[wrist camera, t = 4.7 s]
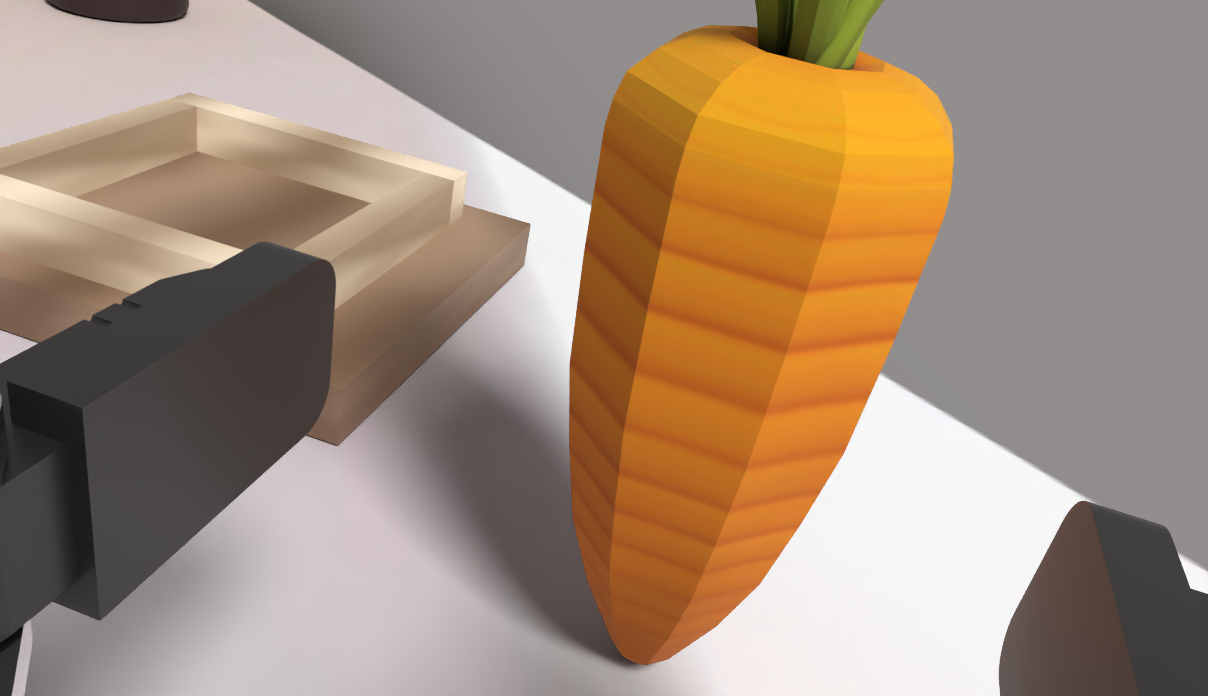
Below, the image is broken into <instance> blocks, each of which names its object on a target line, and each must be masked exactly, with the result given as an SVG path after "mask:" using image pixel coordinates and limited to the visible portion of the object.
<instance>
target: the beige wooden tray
mask: <svg viewBox="0 0 1208 696" xmlns="http://www.w3.org/2000/svg"><path fill="white" fill-rule="evenodd" d="M466 179H467V172H465V171H461V170H458V169H454V168H451V167H447V166H444V165H440V164H437V163H433V162H430V161H426V160H423V159H419V158H416V157H412V156H409V155H405V154H402V153H398V152H395V151H391V150H388V149H384V148H381V147H377V146H374V145H370V144H367V143H363V142H360V141H356V140H353V139H349V138H346V137H342V136H339V135H335V134H332V133H328V132H325V131H321V130H318V129H314V128H311V127H307V126H304V125H300V124H297V123H293V122H290V121H287V120H283V119H280V118H276V117H273V116H269V115H266V114H262V113H259V112H255V111H252V110H248V109H245V108H241V107H238V106H234V105H231V104H227V103H224V102H220V101H217V100H213V99H210V98H206V97H203V96H199V95H196V94H192V93H188V94H184V95H181V96H177V97H174V98H170V99H167V100H164V101H160V102H157V103H153V104H150V105H146V106H143V107H140V108H136V109H133V110H129V111H126V112H123V113H119V114H116V115H112V116H109V117H105V118H102V119H99V120H95V121H92V122H88V123H85V124H81V125H78V126H75V127H71V128H68V129H64V130H61V131H57V132H54V133H51V134H47V135H44V136H40V137H37V138H34V139H30V140H27V141H23V142H20V143H16V144H13V145H10V146H6V147H3V148H0V329H2V330H5V331H7V332H10V333H13V334H16V335H19V336H22V337H25V338H28V339H31V340H34V341H36V342H39V343H40V342H42V341H44V340H46V339H48V338H50V337H52V336H54V335H56V334H57V333H59V332H61V331H63V330H65V329H67V328H69V327H71V326H73V325H74V324H76V323H78V322H80V321H82V320H84V319H85V320H88V321H90V320H91V318H92V315H93V314H95V313H97V312H99V311H101V310H103V309H105V308H107V307H109V306H110V305H112V304H114V303H117V304H120V305H121V303H122V301H123V299H124V298H126V297H127V296H129V295H131V294H133V293H135V292H137V291H139V290H141V289H143V288H145V287H146V286H148V285H150V284H152V283H154V282H156V281H158V280H160V279H164V278H168V277H172V276H176V275H181V274H185V273H189V272H193V271H197V270H202V269H206V268H209V269H211V268H212V267H214V266H216V265H218V264H220V263H221V262H223V261H225V260H227V259H229V258H231V257H232V256H234V255H236V254H238V253H240V252H241V251H243V250H245V249H247V248H249V247H251V246H252V245H254V244H256V243H259V242H262V241H267V242H271V243H274V244H277V245H281V246H284V247H287V248H290V249H293V250H296V251H300V252H303V253H306V254H309V255H312V256H315V257H319V258H322V259H325V260H327V261H329V262H330V263H331V264H332V266H333V268H334V271H335V276H336V295H335V311H334V328H333V344H332V360H331V376H330V386H329V391H328V395H327V399H326V402H325V405H324V407H323V410H322V412H321V414H320V416H319V418H318V420H317V421H316V423H315V424H314V426H313V427H312V429H311V430H310V431H309V432H308V433H307V434H306V435H309V436H312V437H315V438H317V439H320V440H323V441H326V442H329V443H332V444H335V445H339V444H340V443H341V442H342V441H343V440H344V439H345V438H346V437H347V436H348V435H349V434H350V433H351V432H352V431H353V430H354V429H355V428H356V427H357V426H358V425H360V424H361V423H362V422H363V421H364V420H365V419H366V418H367V417H368V416H369V415H370V414H371V413H372V412H373V411H374V410H375V409H376V408H377V407H378V406H379V405H380V404H381V403H382V402H383V401H384V400H385V399H386V398H387V397H388V396H389V395H391V394H392V393H393V392H394V391H395V390H396V389H397V388H398V387H399V386H400V385H401V384H402V383H403V382H404V381H405V380H406V379H407V378H408V377H409V376H410V375H411V374H412V373H413V372H414V371H415V370H416V369H417V368H418V367H419V366H420V365H421V364H423V363H424V362H425V361H426V360H427V359H428V358H429V357H430V356H431V355H432V354H433V353H434V352H435V351H436V350H437V349H438V348H439V347H440V346H441V345H442V344H443V343H444V342H445V341H446V340H447V339H448V338H449V337H450V336H451V335H452V334H453V333H455V332H456V331H457V330H458V329H459V328H460V327H461V326H462V325H463V324H464V323H465V322H466V321H467V320H468V319H469V318H470V317H471V316H472V315H473V314H474V313H475V312H476V311H477V310H478V309H479V308H480V307H481V306H482V305H483V304H484V303H485V302H487V301H488V300H489V299H490V298H491V297H492V296H493V295H494V294H495V293H496V292H497V291H498V290H499V289H500V288H501V287H502V286H503V285H504V284H505V283H506V282H507V281H508V280H509V279H510V278H511V277H512V276H513V275H514V274H515V273H516V272H518V271H519V270H520V269H521V268H522V267H523V266H524V262H525V255H526V249H527V243H528V237H529V231H530V224H529V223H526V222H522V221H519V220H516V219H512V218H509V217H505V216H502V215H498V214H495V213H492V212H488V211H485V210H481V209H478V208H474V207H471V206H468V205H464V204H463V203H464V195H465V187H466Z"/></svg>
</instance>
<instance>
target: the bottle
mask: <svg viewBox="0 0 1208 696" xmlns="http://www.w3.org/2000/svg"><path fill="white" fill-rule="evenodd" d="M48 1H49V2H51V3H52V4H53V5H55V6H57V7H58V8H60V9H63V10H66V11H69V12H72V13H75V14H80V15H84V16H89V17H93V18H100V19H107V20H114V21H128V22H159V21H168V20H173V19H176V18H179V17H181V16H183V15H184V14H185V13H186V11H187V10H188V6H189V0H48Z"/></svg>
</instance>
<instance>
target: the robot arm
mask: <svg viewBox="0 0 1208 696" xmlns="http://www.w3.org/2000/svg"><path fill="white" fill-rule="evenodd" d="M335 295H336V276H335V271H334V268H333V266H332V264H331V263H330V262H329V261H327V260H325V259H322V258H319V257H315V256H312V255H309V254H306V253H303V252H300V251H296V250H293V249H290V248H287V247H284V246H281V245H277V244H274V243H271V242H267V241H262V242H259V243H256V244H254V245H252V246H251V247H249V248H247V249H245V250H243V251H241V252H240V253H238V254H236V255H234V256H232V257H231V258H229V259H227V260H225V261H223V262H221V263H220V264H218V265H216V266H214V267H212V268H211V269H209V268H206V269H202V270H197V271H193V272H189V273H185V274H181V275H176V276H172V277H168V278H164V279H160V280H158V281H156V282H154V283H152V284H150V285H148V286H146V287H145V288H143V289H141V290H139V291H137V292H135V293H133V294H131V295H129V296H127V297H126V298H124V299H123V301H122V303H121V305H120V304H117V303H114V304H112V305H110V306H109V307H107V308H105V309H103V310H101V311H99V312H97V313H95V314H93V315H92V318H91V320H90V321H88V320H85V319H84V320H82V321H80V322H78V323H76V324H74V325H73V326H71V327H69V328H67V329H65V330H63V331H61V332H59V333H57V334H56V335H54V336H52V337H50V338H48V339H46V340H44V341H42V342H40V343H38V344H37V345H35V346H33V347H31V348H29V349H27V350H25V351H23V352H21V353H20V354H18V355H16V356H14V357H12V358H10V359H8V360H6V361H4V362H2V363H1V364H0V696H24V695H25V689H26V682H27V676H28V670H29V663H30V657H31V651H32V643H33V634H32V626H31V618H32V617H34V616H35V615H36V614H37V613H39V612H40V611H41V610H42V609H43V608H45V607H46V606H47V605H48V604H49V603H51V602H55V603H57V604H60V605H62V606H65V607H67V608H70V609H72V610H75V611H77V612H80V613H82V614H84V615H87V616H89V617H92V618H94V619H97V620H99V621H100V620H101V619H103V618H104V617H105V616H106V615H107V614H108V613H109V612H110V611H111V610H113V609H114V608H115V607H116V606H117V605H118V604H119V603H120V602H121V601H123V600H124V599H125V598H126V597H127V596H128V595H129V594H130V593H131V592H133V591H134V590H135V589H136V588H137V587H138V586H139V585H140V584H141V583H143V582H144V581H145V580H146V579H147V578H148V577H149V576H150V575H151V574H152V573H154V572H155V571H156V570H157V569H158V568H159V567H160V566H161V565H162V564H164V563H165V562H166V561H167V560H168V559H169V558H170V557H171V556H172V555H174V554H175V553H176V552H177V551H178V550H179V549H180V548H181V547H182V546H184V545H185V544H186V543H187V542H188V541H189V540H190V539H191V538H192V537H193V536H195V535H196V534H197V533H198V532H199V531H200V530H201V529H202V528H203V527H205V526H206V525H207V524H208V523H209V522H210V521H211V520H212V519H213V518H215V517H216V516H217V515H218V514H219V513H220V512H221V511H222V510H223V509H225V508H226V507H227V506H228V505H229V504H230V503H231V502H232V501H233V500H235V499H236V498H237V497H238V496H239V495H240V494H241V493H242V492H243V491H244V490H246V489H247V488H248V487H249V486H250V485H251V484H252V483H253V482H254V481H256V480H257V479H258V478H259V477H260V476H261V475H262V474H263V473H264V472H266V471H267V470H268V469H269V468H270V467H271V466H272V465H273V464H274V463H276V462H277V461H278V460H279V459H280V458H281V457H282V456H283V455H284V454H286V453H287V452H288V451H289V450H290V449H291V448H292V447H293V446H294V445H295V444H297V443H298V442H299V441H300V440H301V439H302V438H303V437H304V436H305V435H306V434H307V433H308V432H309V431H310V430H311V429H312V427H313V426H314V424H315V423H316V421H317V420H318V418H319V416H320V414H321V412H322V410H323V407H324V405H325V402H326V399H327V395H328V391H329V386H330V376H331V360H332V344H333V328H334V311H335ZM999 686H1000V696H1208V594H1206V593H1203V592H1200V591H1196V590H1193V589H1190V586H1189V583H1188V581H1187V578H1186V575H1185V572H1184V570H1183V567H1182V564H1181V562H1180V559H1179V556H1178V553H1177V551H1176V548H1175V545H1174V543H1173V540H1172V537H1171V535H1170V533H1169V531H1168V529H1167V528H1166V527H1164V526H1162V525H1160V524H1156V523H1154V522H1150V521H1147V520H1144V519H1140V518H1137V517H1135V516H1131V515H1128V514H1125V513H1122V512H1119V511H1115V510H1112V509H1109V508H1106V507H1103V506H1100V505H1096V504H1093V503H1090V502H1087V501H1080V502H1078V503H1077V504H1075V505H1074V506H1073V507H1072V508H1071V510H1070V511H1069V512H1068V514H1067V515H1066V517H1065V519H1064V520H1063V522H1062V524H1061V526H1060V528H1059V530H1058V531H1057V533H1056V535H1055V537H1054V539H1053V541H1052V543H1051V545H1050V547H1049V548H1048V550H1047V552H1046V554H1045V556H1044V558H1043V560H1042V562H1041V564H1040V565H1039V567H1038V569H1037V571H1036V573H1035V575H1034V577H1033V579H1032V581H1031V582H1030V584H1029V586H1028V588H1027V590H1026V592H1025V594H1024V596H1023V598H1022V600H1021V601H1020V603H1019V605H1018V607H1017V609H1016V611H1015V613H1014V615H1013V617H1012V619H1011V621H1010V624H1009V626H1008V629H1007V632H1006V635H1005V639H1004V642H1003V647H1002V651H1001V657H1000V664H999Z"/></svg>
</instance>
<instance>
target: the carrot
mask: <svg viewBox="0 0 1208 696" xmlns="http://www.w3.org/2000/svg"><path fill="white" fill-rule="evenodd" d="M883 1H884V0H755V3H756V11H757V22H758V23H757V24H758V28H756V27H746V26H745V27H744V26H716V25H715V26H714V25H709V26H704V27H701V28H698V29H694V30H691V31H688V32H684V33H683V34H681V35H679V36H678V37H676V38H674V39H672V40H671V41H670V42H667V43H666V44H664V45H662V46H661V47H659V48H658V49H657V50H655V51H654V52H652V53H651V54H649V55H648V56H647V57H645V58H644V59H643V60H641V61H640V62H638V63H637V64H636V65H634V66H633V67H632V68H630V69H629V70H627V72H626V74H625V76H624V78H623V80H622V82H621V84H620V86H619V88H618V90H617V91H616V93H615V95H614V98H613V100H612V103H611V107H610V110H609V114H608V117H607V120H606V124H605V127H604V133H603V139H602V146H601V152H600V158H599V164H598V170H597V176H596V182H595V189H594V195H593V201H592V207H591V213H590V219H589V226H588V232H587V238H586V244H585V250H584V257H583V265H582V273H581V280H580V288H579V296H578V304H577V311H576V319H575V327H574V335H573V342H572V350H571V358H570V404H569V449H570V471H571V493H572V515H573V522H574V526H575V530H576V535H577V539H578V543H579V547H580V552H581V556H582V560H583V564H584V569H585V573H586V577H587V581H588V583H589V586H590V588H591V591H592V593H593V596H594V598H595V601H596V603H597V606H598V608H599V611H600V613H601V616H602V618H603V621H604V623H605V625H606V628H607V630H608V633H609V635H610V638H611V639H612V641H613V642H614V644H615V646H616V647H617V649H618V650H619V652H620V653H621V655H622V656H623V657H625V658H627V659H628V660H630V661H632V662H634V663H637V664H642V665H649V664H653V663H656V662H660V661H663V660H667V659H669V658H671V657H672V656H674V655H675V654H676V653H678V652H679V651H681V650H682V649H684V648H685V647H687V646H688V645H690V644H691V643H693V642H694V641H696V640H697V639H699V638H700V637H702V636H703V635H704V634H706V633H707V632H709V631H710V630H712V629H713V628H715V627H716V626H717V625H718V624H719V623H720V622H721V621H722V620H723V619H724V618H725V617H726V616H727V615H728V614H729V613H731V612H732V611H733V610H734V609H735V608H736V607H737V606H738V605H739V604H740V603H741V602H742V601H743V600H744V599H745V598H746V597H747V596H748V595H749V594H750V593H751V592H752V591H753V590H754V589H755V588H756V587H757V586H758V585H759V584H760V583H761V581H762V580H763V579H764V577H765V576H766V574H767V573H768V571H769V570H770V568H771V567H772V565H773V564H774V562H775V561H776V560H777V558H778V557H779V555H780V554H781V552H782V551H783V549H784V548H785V546H786V545H787V543H788V542H789V541H790V539H791V538H792V536H793V535H794V533H795V532H796V530H797V529H798V527H799V526H800V524H801V523H802V521H803V520H804V518H805V516H806V515H807V513H808V511H809V510H810V508H811V506H812V505H813V503H814V502H815V500H816V498H817V497H818V495H819V493H820V492H821V490H822V488H823V487H824V485H825V483H826V482H827V480H828V479H829V477H830V475H831V474H832V472H833V470H834V469H835V467H836V465H837V464H838V462H839V460H840V459H841V457H842V456H843V454H844V452H845V450H846V447H847V445H848V443H849V441H850V439H851V436H852V434H853V432H854V430H855V427H856V425H857V423H858V421H859V418H860V416H861V414H862V412H863V409H864V407H865V405H866V403H867V400H868V398H869V396H870V394H871V391H872V389H873V387H874V385H875V383H876V380H877V378H878V376H879V374H880V371H881V369H882V367H883V365H884V362H885V360H886V358H887V356H888V353H889V351H890V349H891V347H892V344H893V342H894V339H895V337H896V334H897V332H898V330H899V327H900V325H901V322H902V320H903V317H904V315H905V312H906V310H907V308H908V305H909V302H910V300H911V298H912V295H913V293H914V290H915V288H916V285H917V283H918V280H919V278H920V276H921V273H922V271H923V268H924V266H925V263H926V261H927V258H928V256H929V254H930V251H931V249H932V246H933V244H934V241H935V239H936V236H937V234H938V231H939V229H940V227H941V224H942V222H943V219H944V215H945V211H946V208H947V204H948V200H949V196H950V192H951V186H952V173H953V159H954V153H953V134H952V125H951V123H950V120H949V118H948V116H947V114H946V112H945V110H944V108H943V106H942V104H941V102H940V100H939V98H938V96H937V95H936V94H935V93H934V92H933V91H931V90H930V89H929V88H928V87H927V86H926V85H925V84H924V83H923V82H922V81H921V80H920V79H919V78H917V77H915V76H913V75H911V74H909V73H907V72H905V71H903V70H901V69H899V68H897V67H895V66H893V65H891V64H888V63H886V62H884V61H882V60H879V59H877V58H875V57H873V56H870V55H868V54H866V53H863V52H861V51H859V47H860V44H861V41H862V38H863V34H864V31H865V27H866V25H867V23H868V22H869V20H870V19H871V17H872V16H873V14H874V13H875V12H876V11H877V9H878V8H879V6H880V5H881V4H882V3H883Z"/></svg>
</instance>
